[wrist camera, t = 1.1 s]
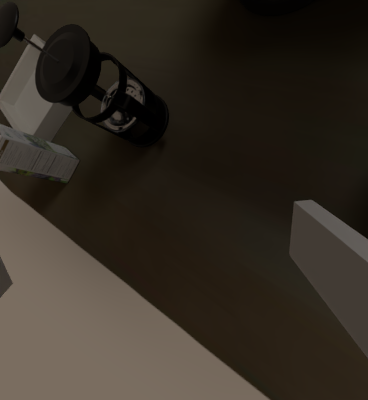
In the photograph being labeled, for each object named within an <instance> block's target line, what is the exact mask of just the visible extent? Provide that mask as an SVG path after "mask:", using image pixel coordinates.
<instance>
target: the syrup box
mask: <svg viewBox="0 0 368 400" xmlns="http://www.w3.org/2000/svg"><path fill="white" fill-rule="evenodd" d="M79 161H80V160H79V159H78V158H77V157H76V156H74V155H73V154H72V153H71V152H70V151H69V150H68V149H67V148H66V147H64V146H61V145H58V144H55V143H52V142H50V141H47V140H44V139H41V138H38V137H35V136H33V135H30V134H27V133H24V132H21V131H18V130H15V129H13V128H10V127H7V126H4V125H1V124H0V170H1V171H7V172H12V173H17V174H22V175H27V176H32V177H37V178H42V179H47V180H52V181H57V182H62V183H68V181H69V179H70V178H71V176H72V174H73V172H74V170H75V168H76V167H77V165H78V163H79Z"/></svg>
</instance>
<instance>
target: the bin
mask: <svg viewBox="0 0 368 400" xmlns="http://www.w3.org/2000/svg"><path fill="white" fill-rule="evenodd" d="M30 41H32V42H33V43H35V44H36V45H37V46H39V47H40V48H42V49H43V47H44V45H45V43H46V42H44V41H43V40H42V39H40V38H39V37H37V36H36V35H35V34H34V35H33V37H32V38H31V40H30ZM40 53H41V52H40V51H38V50H37V49H35V48H34V47H33V46H31V45H30V44H28V46H27V47H26V49H25V51H24V53H23V54H22V56H21V58H20V60H19V62H18V63H17V65H16V67H15V69H14V70H13V72H12V74H11V76H10V78H9V79H8V81H7V83H6V85H5V86H4V88H3V90H2V92H1V94H0V109H1V110H2V112H3V113H4V115H5V117H6V118H7V120H8V121H9V123H10V124H11V126H12V127H13V129H15V130H18V131H21V132H24V133H27V134H30V135H33V136H35V137H38V138H41V139H44V140H47V141H50V142H51V141H52V139H53V138H54V136H55V135H56V133H57V132H58V130H59V129H60V127H61V126H62V124H63V123H64V121H65V120H66V118H67V117H68V115H69V114H70V112H71V111H72V107H71V106H64V105H62V104H60V103H50V102H48V101H46V100H44V99H43V98H42V97H41V96H40V95H39V93H38V91H37V88H36V84H35V71H36V65H37V61H38V58H39V55H40Z"/></svg>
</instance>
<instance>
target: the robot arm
mask: <svg viewBox="0 0 368 400" xmlns="http://www.w3.org/2000/svg"><path fill="white" fill-rule="evenodd" d="M240 1H241V3H242V4H243V5H244V6H245V7H246V8H247V9H248V10H250V11H252V12H254V13H257V14H260V15H280V14H285V13H289V12H292V11H295V10H297V9H299V8H302V7H304V6H305V5H307V4H309V3H311V2H312V1H314V0H240ZM289 255H290V257H291V258H292V259H293V261H294V262H295V263H296V265H297V266H298V267H299V268H300V270H301V271H302V272H303V274H304V275H305V276H306V278H307V279H308V280H309V282H310V283H311V284H312V286H313V287H314V288H315V290H316V291H317V292H318V293H319V295H320V296H321V297H322V299H323V300H324V301H325V303H326V304H327V305H328V307H329V308H330V309H331V311H332V312H333V313H334V314H335V316H336V317H337V318H338V320H339V321H340V322H341V324H342V325H343V326H344V328H345V329H346V330H347V332H348V333H349V334H350V336H351V337H352V338H353V339H354V341H355V342H356V343H357V345H358V346H359V347H360V349H361V350H362V351H363V353H364V354H365V355H366V357H367V358H368V239H366V238H365V237H364V236H362V235H361V234H359V233H358V232H357V231H355V230H354V229H352V228H351V227H349V226H348V225H347V224H345V223H344V222H342V221H341V220H340V219H338V218H337V217H335V216H334V215H333V214H331V213H330V212H328V211H327V210H325V209H324V208H323V207H321V206H320V205H318V204H317V203H316V202H314V201H313V200H304V201H295V202H294V208H293V218H292V229H291V239H290V250H289ZM12 284H13V283H12V281H11V279H10V276H9V274H8V273H7V270H6V268H5V266H4V264H3V262H2V259H1V257H0V297H1V296H2V295H3V294H4V293H5V292H6V291H7V289H8V288H9V287H10V286H11V285H12Z"/></svg>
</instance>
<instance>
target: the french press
mask: <svg viewBox="0 0 368 400" xmlns="http://www.w3.org/2000/svg"><path fill="white" fill-rule="evenodd" d="M18 18H19V11H18V8H17V5H16V4H15V3H13V2H7V3H5V4H3V5H2V6H1V7H0V48H1V47H3V46H5V45H6V44H7V43H8V42H9V41H10V39H11V38H12V37H14V38H15V39H17V40H18V41H20V42H21V41H23V40H24V41H25V42H27V43H28V44H30V45H31V46H33V47H34V48H35V49H37V50H38V51H40V52H41V53H40V55H39V58H38V61H37V65H36V71H35V84H36V88H37V91H38V93H39V95H40V96H41V97H42V98H43V99H44V100H46V101H48V102H50V103H60V104H62V105H64V106H71V107H72V109H73V111H74V113H75V114H76V115H77V116H79V117H80V118H82V119H84V120H86V121H88V122H90V123H92V124H94V125H96V126H98V127H100V128H102V129H104V130H107V131H109V132H111V133H113V134H115V135H117V136H119V137H121V138H123V139H125V140H127V141H129V142H130V143H131V144H132V145H134V146H137V147H147V146H150V145H152V144H154V143H155V142H157V141H158V140H159V139H160V138H161V136H162V135H163V134H164V132H165V130H166V128H167V125H168V120H169V112H168V108H167V105H166V103H165V102H164V101H163V100H162V99H161V98H160V97H159V96H157V95H155V94H154V93H153V92H152V91H151V90H150V89H149V88H147V87H146V86H145V85H144V84H143V83H142V82H141V81H140V80H139V79H138V78H136V77H135V76H134V75H133V74H132V73H131V72H130V71H129V70H128V69H127V68H126V67H124V66H123V65H122V64H121V63H120V62H119V61H118V60H117V59H116V58H115V57H113V56H112V55H111V54H109V53H105V52H102V53H100V52H99V50H98V48H97V47H96V46H95V45H94V44H93V43H92V42H91V41H90V37H89V36H88V34H87V32H86V31H85V30H84V29H83V28H82V27H80V26H78V25H74V24H70V25H66V26H63V27H61V28H60V29H58V30H57V31H56V32H55V33H54V34H53V35H51V37H50V38H49V39H48V40H47V42H46V43H45V45H44V47H43V49H42V48H40V47H39V46H37V45H36V44H35V43H33V42H32V41H30V40H29V39H27V38H26V37H25V34H24V32H22V31H21V30H20V29H18V28H17V24H18ZM105 60H111V61H112V62H113V63H114V64H116V65H117V66H118V69H119V81H117V82H116V83H114V84H113V85H112V86H111V87H110V88H109V90H108V91H107V92H106V91H105V90H104V89H102V88H101V87H99V86H98V85H96V84H97V81H98V78H99V75H100V71H101V61H105ZM127 75H128V76H129V77H130V78H127ZM89 95H92V96H94V97H95V98H97V99H98V100H100V101H102V105H101V113H100V114H99V115H97V116H94V117H90V118H85V117H84V116H83V115H82V113H81V111H80V109H79V103H81V102H82V101H84V100H85V99H86V98H87V97H88V96H89ZM147 101H149V102H154V103H155V104H156V106H157V108H156V114H154V113H153V112H152V111H150V110H149V109H148V108H147V107H145V106H146V102H147ZM139 120H140V121H141V122H143V123H144V124H146V125H147V126H149V127H150V128H149V129H148V130H147V132H145V133H144V134H143V135H141V136H140V137H138V138H135V137H133V135H132V134H131V132H130V129H131V128H132V127H134V126H135V125H136V124H137V123H138V122H139ZM102 121H103V123H104V125H105V126H106V128H105V127H103V126H101V125H99V124H97V123H99V122H102ZM107 128H108V129H107ZM115 132H116V133H115Z"/></svg>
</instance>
